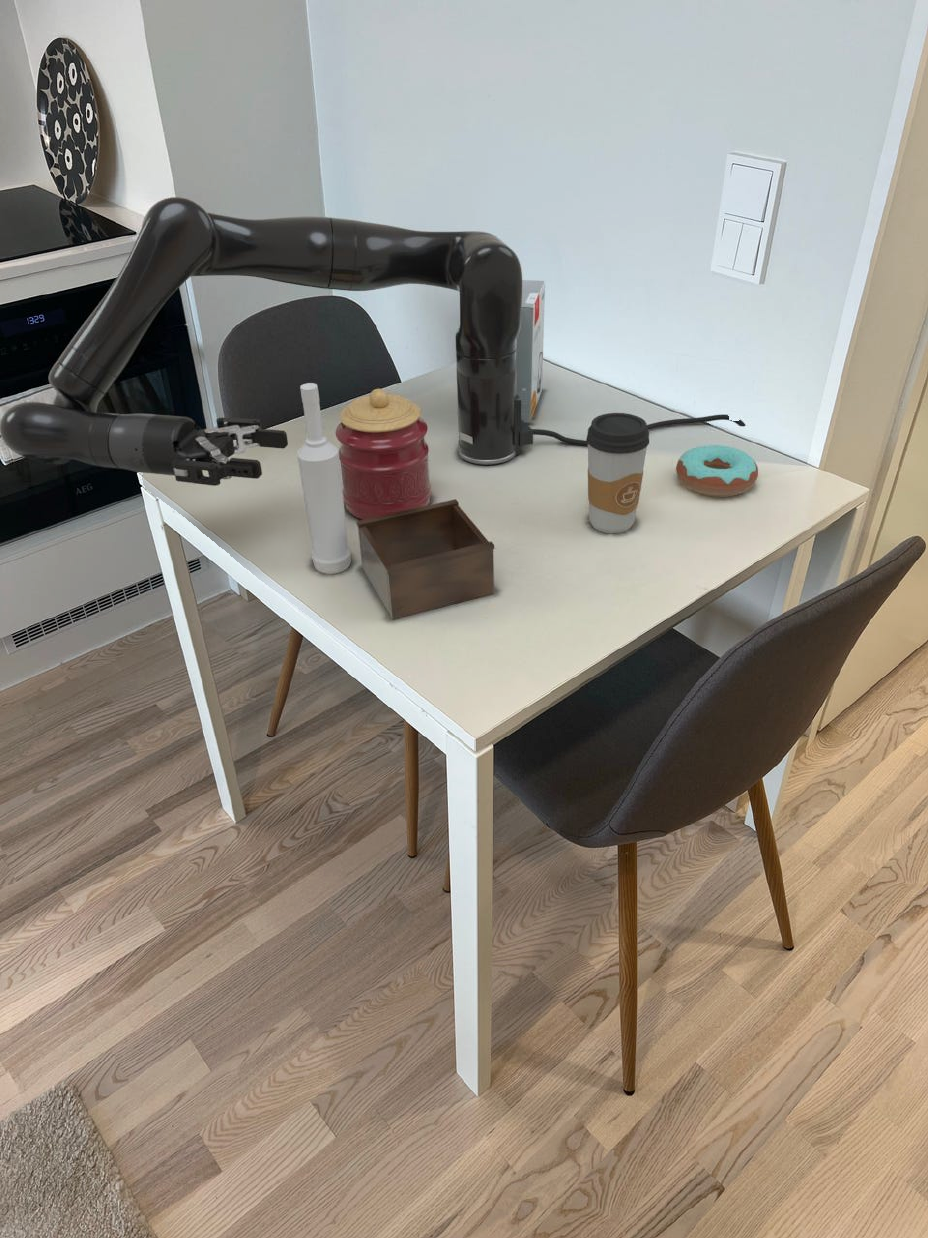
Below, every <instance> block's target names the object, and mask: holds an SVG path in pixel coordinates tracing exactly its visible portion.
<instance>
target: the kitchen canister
mask: <svg viewBox="0 0 928 1238" xmlns="http://www.w3.org/2000/svg"><path fill="white" fill-rule="evenodd" d="M421 413H422V412H421V408H420V406H418V404H416V403H415V402H413V401H411V400H408V399H407V398H405V397H404V396H402V395H398V394H393V393H388V392H387V391H386V390H385V389H383V388H375V389H373V390H372V391H371V392H370V393H369V394H368V395H364V396H361V397H359V398H357V399H355V400H353V401H351V403H350V404H348V405H347V406H345V407H344V408H343V409H342V410H341V411H340V413H339V420H340V423H339V424H338V425H337V427H336V429H335V437H336V439H337V441H338V442H340V447H339V448H338V450H339V459H340V469H341V480H342V490H343V500H344V505H345V507H346V511H348V513H350V514H351V515H352V516H353V517H355V518H357V519H359V520H364V519H369V518H373V517H378V516H382V515H387V514H391V513H396V512H400V511H405V510H409V509H414V508H418V507H423V506H427V505H430V500H431V495H432V490H431V489H432V485H431V482H430V467H429V449H430V448H429V445H428V443H427V441H426V440H425V436H426V434H427V433H428V427H429V426H428V424H427V422H426V420H425V419H424V418H423V417H421Z"/></svg>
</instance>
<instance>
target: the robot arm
mask: <svg viewBox="0 0 928 1238" xmlns="http://www.w3.org/2000/svg"><path fill="white" fill-rule="evenodd" d="M208 276H209V277H210V276H243V277H253V278H258V279H259V278H260V279H266V280H270V281H274V282H279V283H284V284H291V285H295V286H296V285H297V286H302V287H309V288H311V287H312V288H317V289H325V290H326V289H327V290H336V291H346V292H347V291H348V292H367V291H376V290H381V289H382V290H383V289H387V288H391V287H392V288H393V287H397V286H403V285H425V286H431V287H437V288H443V289H449V290H452V291H457V292H459V326H458V328H457V329H456V331H455V335H454V337H455V339H454V340H455V341H454V342H455V365H456V366H455V367H456V396H457V397H456V398H457V421H458V422H457V427H458V429H457V430H458V455H459V457H460V459H462V460H464V461H465V462H469V463H471V464H475V465H484V466H485V465H498V464H501V463H506V462H508V461H510V460H512V459H513V458H514V457H515V456H519V455H522V447H525V446H531V445H533V444H534V436H545V437H550V438H554V439H555V440H557V441H559V442H562V443H564V444H567V445H574V446H581V447H588V443H587V441H586V440H583V439H577V438H570V437H566V436H564V435H562V434H560V433H558V432H556V431H553V430H548V429H539V428H531V427H530V426H529V425H528V423H525V422H523V421H522V420H521V398H520V397H519V396H518V395H517V394H516V350H517V349H516V348H517V337H518V334H519V332H520V327H521V312H522V280H523V271H522V264H521V261H520V258H519V257H518V255H517V254H516V252H515V251H514V250H513V249H512V248H511V247H510V246H509V245H508V244H506V243H505V242H504V241H503V240H502V239H501V238H499V237H498V236H497V235H494V234H493V233H490V232H487V231H486V232H485V231H479V230H477V231H476V230H474V231H473V230H471V231H470V230H468V231H467V230H466V231H464V230H463V231H428V230H427V231H426V230H425V231H424V230H413V229H408V228H404V227H400V226H393V225H389V224H383V223H375V222H370V221H362V220H358V219H348V218H340V217H339V218H338V217H331V216H330V217H329V216H287V217H285V216H284V217H274V218H264V219H263V218H262V219H260V218H259V219H253V218H252V219H251V218H240V217H234V216H228V215H223V214H217V213H213V212H212V213H211V212H207V211H206V210H205V209H204V208H203V206H201V205H200V204H198V203H197V202H196V201H194V200H191V199H189V198H186V197H180V196H171V197H167V198H163V199H161V200H159V201H157V202H155V203H154V204H153V205H151V207H150V208H149V209H148V211H147V212H146V213H145V215H144V217H143V221H142V225H141V229H140V231H139V232H138V235H137V238H136V240H135V242H134V244H133V247H132V249H131V251H130V253H129V256H128V258H127V259H126V260H125V263H124V265H123V266H122V268H121V270H120V271H119V274H118V275H117V277H116V278H115V280H114V281H113V283H112V285H111V286H110V288H109V289H108V291H107V292H106V293H105V295H104V296H103V298H102V299H101V300H100V301H99V303H98V305H97V306H96V307H95V308H94V309H93V311H92V312H91V313H90V315H89V316H88V317H87V318H86V320H85V321H84V323H83V324H82V325H81V327H80V328H79V329H78V330H77V332H76V334H75V335H73V337H72V339H71V340H70V342H69V343H68V344H67V346H66V347H65V349H64V350H63V351H62V353H61V354H60V355H59V358H57V360H56V362H55V363H54V364H53V366H52V367H51V369H50V371H49V374H48V382H49V384H50V386H51V387H52V388H53V389H54V390H55V391H56V395H55V396H54V397H55V398H54V400H53V402H52V403H46V402H40V401H25V402H20V403H16V404H15V405H13V406H10V408H9V409H7V410H6V411H5V412H4V413H3V415H2V417H1V419H0V437H1V439H2V441H3V443H4V444H5V445H6V446H7V448H8V449H10V450H11V451H12V452H14V453H15V454H17V455H19V456H21V457H24V458H27V459H30V460H33V461H35V462H38V463H40V464H43V465H46V466H48V467H61V466H64V465H66V464H68V463H70V462H71V461H73V460H74V461H77V462H80V463H84V464H85V465H90V466H94V467H97V468H98V467H100V468H106V469H107V468H108V469H118V470H127V471H130V472H134V473H135V472H136V473H142V474H153V475H163V476H164V475H165V476H174V478H175V481H176V482H181V483H188V484H198V485H205V486H219V485H221V484H222V483H221V482H222V481H221V480H230V479H232V477H233V478H234V477H235V478H245V479H257V480H258V479H260V477H262V474H263V471H262V464H261V462H260V461H259V460H258V459H253V458H252V459H251V458H240V457H232V456H234V455H238V454H239V455H240V454H243V453H245V451H246V450H247V449H251V448H256V447H260V448H272V449H284V450H285V448H287V446H288V445H289V440H288V434H287V432H286V431H285V430H281V429H270V428H269V429H268V428H262V426H261V425H262V424H261V419H258V418H241V417H240V418H239V417H238V418H237V417H218V418H216V419H215V421H216V427H215V426H213V427H208V428H201V427H200V426H199V425H198V424H197V423H196V422H195V420H193V419H192V418H191V417H189V416H181V415H180V416H179V415H167V414H152V413H139V412H138V413H114V412H101V411H100V412H99V411H98V409H99V405H100V403H101V401H103V400H104V398H105V396H106V395H107V394H108V393H109V391H110V389H111V388H112V387H113V385H114V383H116V381H117V379H118V378H119V376H120V375H121V374H122V372H123V370H124V369H125V367H126V366H127V365H128V363H129V361H130V359H131V358H132V357H133V355H134V353H135V351H136V350H137V348H138V346H139V345H140V343H141V340H143V337H144V336H145V333H146V332H147V330H148V328H149V327H150V326H151V324H152V323H153V321H154V319H155V318H156V317H157V315H158V314H159V312H160V311H161V310H162V309H163V307H164V306H165V304H166V303H167V302H168V300H170V298H171V297H172V296H173V295H174V293H176V291H178V289H179V288H180V287H181V286H182V285H183V284H184V283H186V281H187V280H188V279H190V278H191V277H208ZM728 415H729V414H714V415H707V416H700V417H688V418H687V417H686V418H674V419H668V420H667V419H666V420H661V421H656V422H653V423H649V424H647V429H648V431H650V430H651V431H652V430H653V429H657V428H663V427H667V426H675V425H686V424H687V425H689V424H700V423H708V422H714V421H724V420H725V421H730V422H733V423H735V424H736V425H737V426H739V427H746V426H747V425H746V423H745V422H744V421H743V420H742V419H740V420H739V421H732V420H729V416H728ZM234 440H235V443H236V444H235V445H234ZM244 440H245V441H244ZM203 471H206V472H207V474H208V476H207V475H204V472H203Z"/></svg>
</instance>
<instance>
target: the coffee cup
mask: <svg viewBox="0 0 928 1238" xmlns="http://www.w3.org/2000/svg"><path fill="white" fill-rule="evenodd" d="M647 425H648V424H647V421H646V420H645V419H643V417H640V416H637V415H635V414H632V413H627V412H626V413H625V412H609V413H604V414H600V415H597V416H596V417H594V418H593V419H592V420H591V423H590V426H589V427H588V429H587V435H586V440H585V441H587V443H588V446H587V500H588V520H589V522H590V524H591V527H593V529H595V530H597V531H599V532H601V533H606V534H621V533H624V532H627V531H629V530H630V529H631V528H632V527H633V525H634V523H635V521H636V516H637V509H638V505H639V501H640V495H641V490H642V483H643V477H644V469H645V468H644V467H645V463H646V462H645V461H646V456H647V449H648V446H649V445H650V430H648V429H647Z"/></svg>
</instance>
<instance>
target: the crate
mask: <svg viewBox="0 0 928 1238" xmlns="http://www.w3.org/2000/svg"><path fill="white" fill-rule="evenodd" d="M355 523H356V526H357V533H358V541H359V550H360V560H361V569H362V571H363V572H364V574H365V575H366V577H367V579H368V581H369V582H370V583H371V586H372V587H373V589H374V591H375V592H376V594H377V596H378V598H379V599H380V601H381V602H382V604H383V607H385V609H386V611H387V613H388V615H389V616H390V617H391V619H392V620H397V619H400V618H404V617H408V616H413V615H416V614H420V613H424V612H428V611H431V610H436V609H440V608H443V607H448V606H450V605H454V604H460V603H463V602H466V601H471V600H474V599H479V598H482V597H486V596H490V595H494V594H495V590H494V589H495V588H494V587H495V584H494V583H495V580H494V579H495V576H494V575H495V574H494V573H495V572H494V571H495V569H494V550H495V544H494V543H493V541H489V540H488V538H486V536H485V535H484V534H483V533H482V531H480V529H479V528H478V527H477V525H476V524H475V523H474V522H473V521H472V520H471V518H470V517H469V516H468V515H467V514H466V512H465V511H464V510H463V508H461V506H459V501H458V499H456V498H455V499H451V500H446V501H441V502H437V503H432V504H428V505H427V506H423V507H418V508H414V509H409V510H405V511H400V512H396V513H391V514H387V515H382V516H378V517H373V518H369V519H364V520H362V519H359V520H356V522H355Z"/></svg>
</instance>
